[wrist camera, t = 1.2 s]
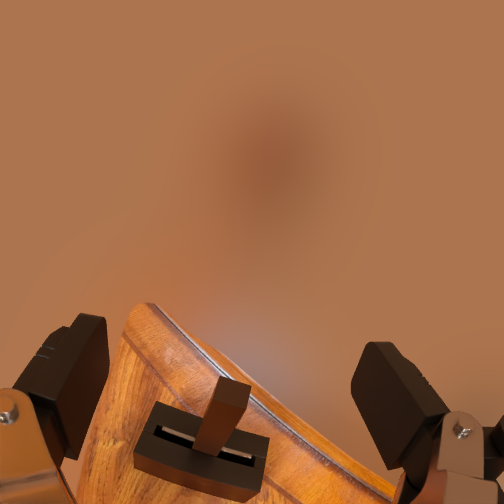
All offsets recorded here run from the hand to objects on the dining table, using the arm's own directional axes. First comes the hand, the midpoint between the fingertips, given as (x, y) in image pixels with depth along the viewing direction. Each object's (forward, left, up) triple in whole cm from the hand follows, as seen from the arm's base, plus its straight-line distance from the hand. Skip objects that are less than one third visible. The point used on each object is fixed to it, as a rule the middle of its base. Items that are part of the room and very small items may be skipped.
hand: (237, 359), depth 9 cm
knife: (+3, +5, -25) cm, 26 cm away
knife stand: (+3, +5, -25) cm, 26 cm away
